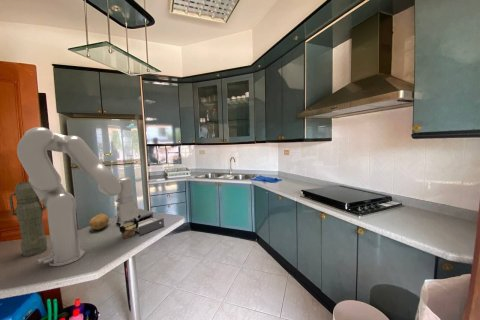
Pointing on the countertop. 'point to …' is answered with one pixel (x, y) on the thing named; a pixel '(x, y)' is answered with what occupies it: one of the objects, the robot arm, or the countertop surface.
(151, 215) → the box
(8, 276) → the countertop surface
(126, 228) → the disc
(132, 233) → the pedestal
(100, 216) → the potato
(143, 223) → the tray
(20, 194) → the thermos
